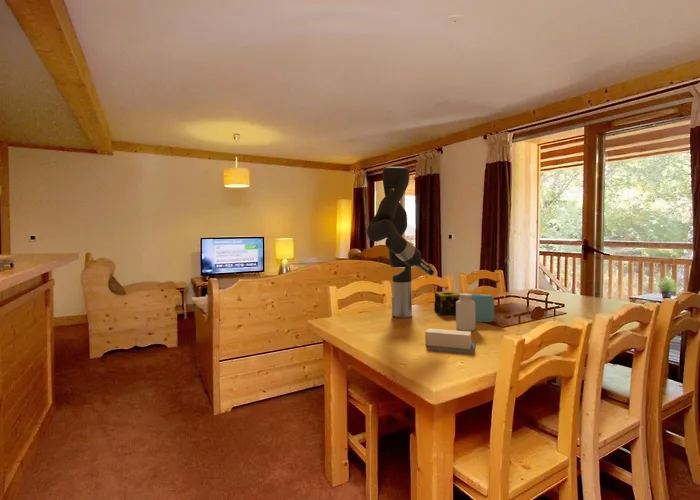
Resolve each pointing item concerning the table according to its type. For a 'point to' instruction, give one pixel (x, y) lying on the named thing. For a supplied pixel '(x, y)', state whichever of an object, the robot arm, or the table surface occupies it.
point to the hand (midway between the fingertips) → (431, 273)
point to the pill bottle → (465, 312)
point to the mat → (454, 349)
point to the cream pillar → (448, 338)
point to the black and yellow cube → (446, 302)
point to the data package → (483, 307)
